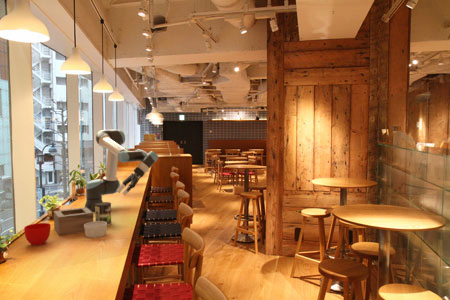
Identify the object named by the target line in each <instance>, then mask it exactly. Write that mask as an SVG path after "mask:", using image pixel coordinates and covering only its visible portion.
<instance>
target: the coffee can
mask: <svg viewBox="0 0 450 300" xmlns="http://www.w3.org/2000/svg"><path fill="white" fill-rule="evenodd" d="M94 212H95V213H94V216H95V218H94V219H95V221H104V222H107V226H110V225H112V203H111V202H110V201H108V202H107V201H105V202H104V201H103V202H100V203H96V204H95V211H94Z"/></svg>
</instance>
